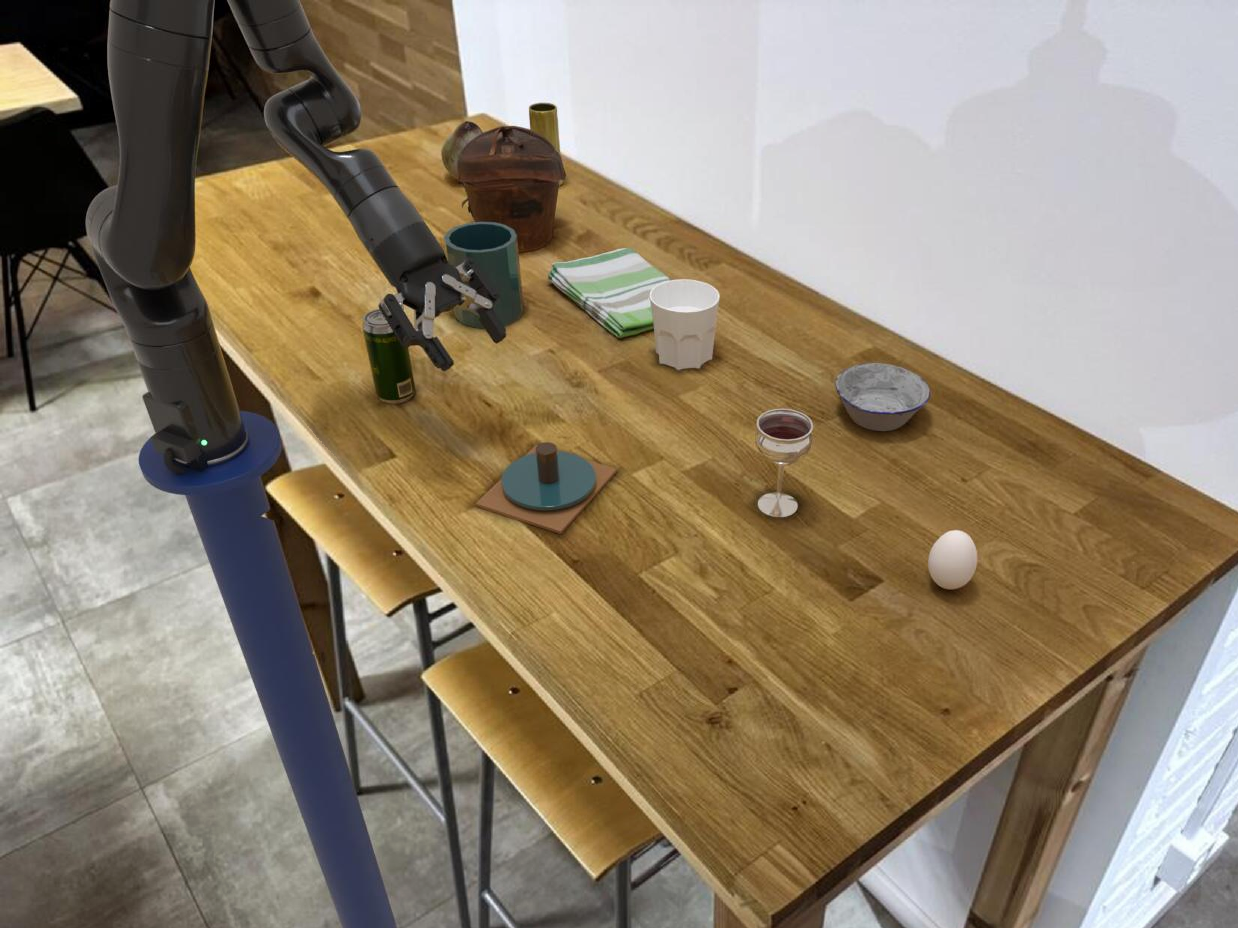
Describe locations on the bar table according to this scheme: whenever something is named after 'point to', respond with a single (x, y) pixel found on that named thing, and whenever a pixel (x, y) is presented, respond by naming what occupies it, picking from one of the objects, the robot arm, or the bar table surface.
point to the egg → (953, 560)
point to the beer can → (387, 360)
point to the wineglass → (782, 452)
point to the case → (513, 182)
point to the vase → (545, 123)
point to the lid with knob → (548, 479)
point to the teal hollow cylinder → (489, 266)
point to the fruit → (458, 145)
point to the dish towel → (611, 289)
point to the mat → (544, 518)
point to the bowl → (881, 395)
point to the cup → (684, 322)
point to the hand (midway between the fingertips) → (476, 353)
